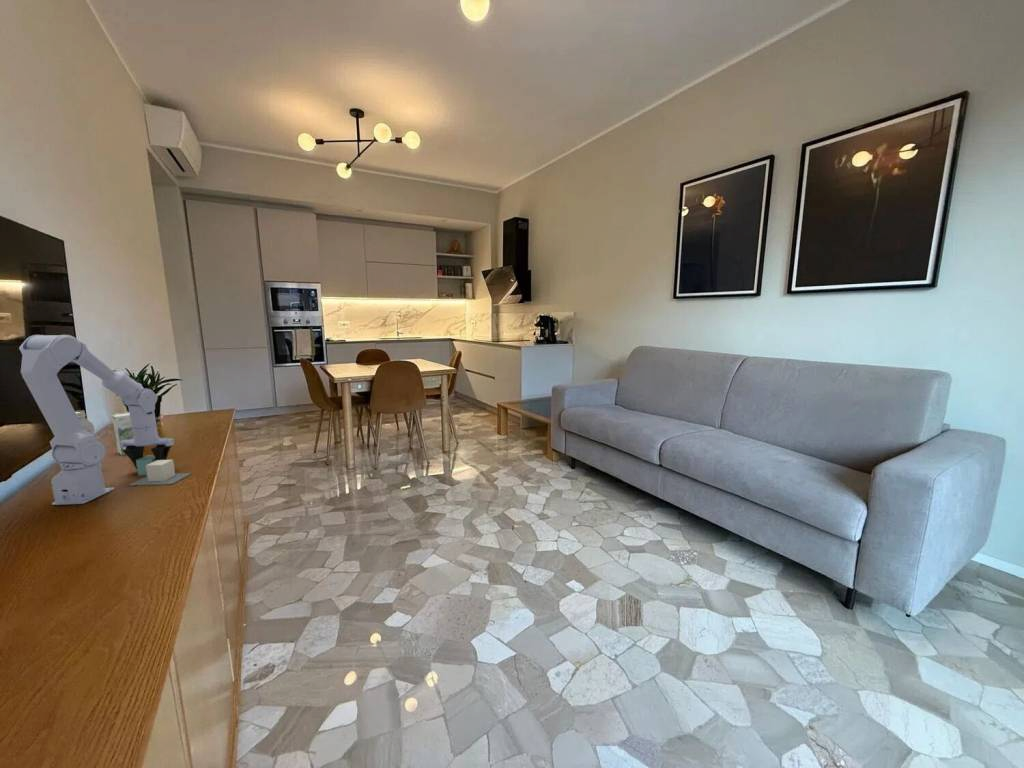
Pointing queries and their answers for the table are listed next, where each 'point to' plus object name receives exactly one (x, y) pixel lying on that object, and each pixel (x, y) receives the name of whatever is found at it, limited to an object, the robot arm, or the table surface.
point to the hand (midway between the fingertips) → (151, 468)
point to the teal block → (144, 464)
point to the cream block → (160, 470)
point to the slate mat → (169, 481)
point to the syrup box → (122, 429)
